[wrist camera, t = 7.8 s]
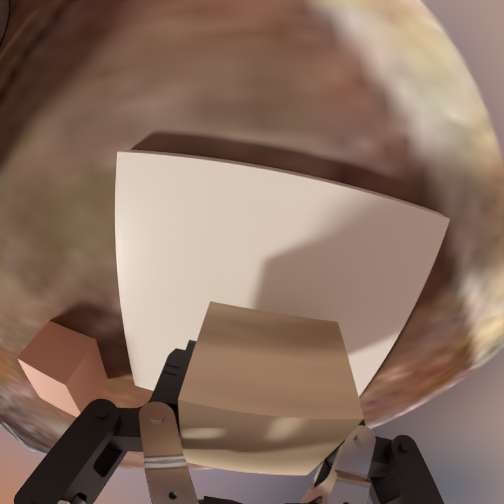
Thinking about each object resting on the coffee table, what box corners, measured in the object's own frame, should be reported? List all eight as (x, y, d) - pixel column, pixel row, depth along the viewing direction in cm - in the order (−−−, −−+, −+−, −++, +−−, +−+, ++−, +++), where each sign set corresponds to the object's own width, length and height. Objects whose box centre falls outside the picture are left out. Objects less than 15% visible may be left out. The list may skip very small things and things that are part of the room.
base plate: (129, 149, 12) (117, 151, 10) (438, 212, 12) (449, 219, 11) (140, 374, 18) (134, 385, 17) (341, 405, 18) (343, 416, 17)
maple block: (210, 301, 11) (178, 399, 6) (337, 321, 11) (363, 418, 7) (202, 381, 13) (182, 461, 9) (302, 395, 13) (306, 475, 9)
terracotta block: (50, 320, 17) (17, 357, 13) (96, 338, 17) (65, 385, 13) (64, 360, 19) (39, 397, 15) (108, 378, 19) (85, 421, 15)
